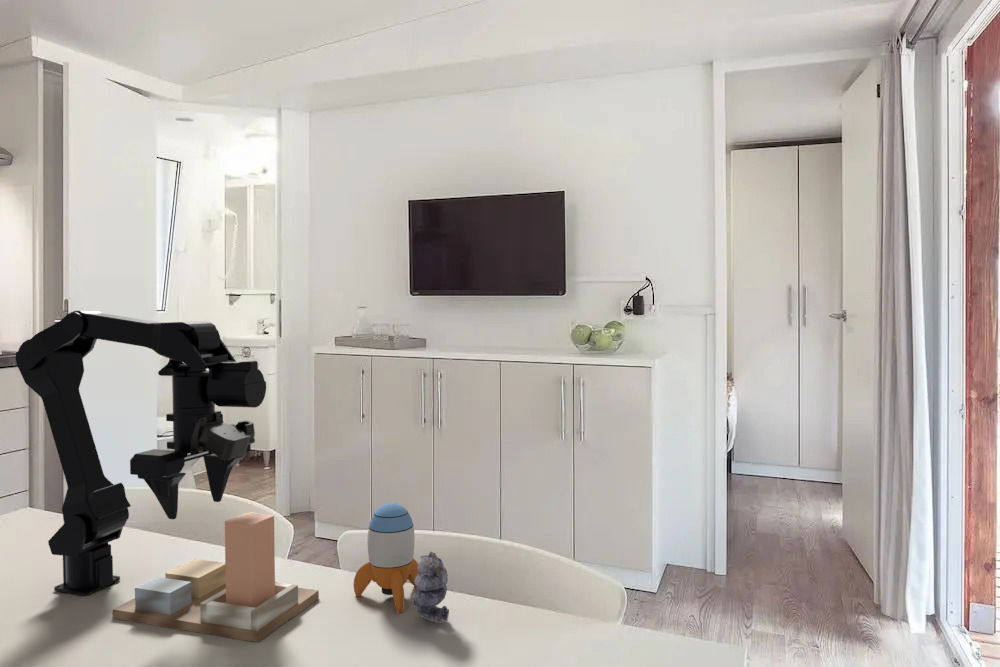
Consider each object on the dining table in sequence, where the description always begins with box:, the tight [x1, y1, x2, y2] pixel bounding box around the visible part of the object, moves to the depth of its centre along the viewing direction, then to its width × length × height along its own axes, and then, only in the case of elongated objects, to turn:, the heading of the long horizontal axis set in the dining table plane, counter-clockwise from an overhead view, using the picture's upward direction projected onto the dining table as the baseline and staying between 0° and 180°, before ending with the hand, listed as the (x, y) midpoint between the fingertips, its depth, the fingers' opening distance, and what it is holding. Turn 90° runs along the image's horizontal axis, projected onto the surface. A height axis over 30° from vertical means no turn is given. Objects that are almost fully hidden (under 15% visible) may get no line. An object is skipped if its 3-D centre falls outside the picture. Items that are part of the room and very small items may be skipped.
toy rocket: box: [353, 502, 419, 614], centre depth 100 cm, size 10×11×15 cm
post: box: [224, 511, 276, 608], centre depth 93 cm, size 4×4×13 cm
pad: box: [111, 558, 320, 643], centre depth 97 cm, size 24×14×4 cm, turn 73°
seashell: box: [411, 551, 450, 624], centre depth 92 cm, size 5×5×10 cm
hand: (195, 509), depth 101 cm, fingers open, 9 cm apart
